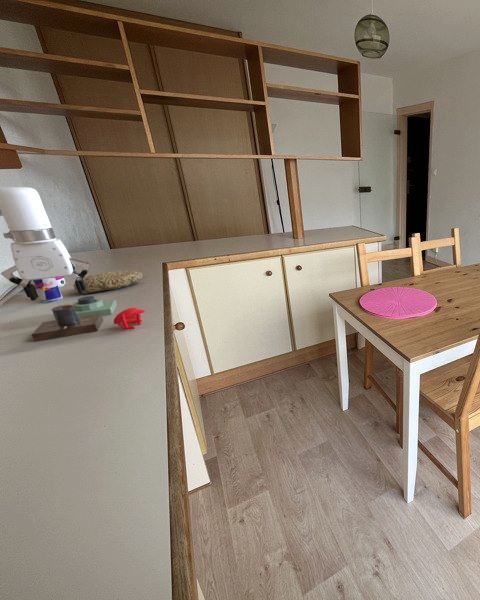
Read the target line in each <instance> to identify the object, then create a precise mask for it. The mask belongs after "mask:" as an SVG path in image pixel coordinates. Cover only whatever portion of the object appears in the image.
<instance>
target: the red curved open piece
mask: <svg viewBox="0 0 480 600" xmlns="http://www.w3.org/2000/svg"><path fill="white" fill-rule="evenodd" d="M145 313H146V310H145V309H140V308H137V307H129V308H127V309H124V310H122V311H121V312H118V313H117V315H116V316H115V317H114V318H113V325H118V327H119V328H120V329H121V330H126V331H127V330H135V329H136V327H135V326H134V325H136V324H137V325H142V323H143V320H142V315H141V314H145ZM129 325H131V326H129ZM132 325H133V326H132Z"/></svg>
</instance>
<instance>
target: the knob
mask: <svg viewBox="0 0 480 600" xmlns="http://www.w3.org/2000/svg"><path fill="white" fill-rule="evenodd" d="M51 312H52V314H53V316H54V319H55V320H56V321H57V324H58V326H68V325H72V324H75V323H77V322H79V319H78V317H77V314H76V312H75V309H74V306H73V304H63V305H58V306H55V307H54V306H53V308H51Z"/></svg>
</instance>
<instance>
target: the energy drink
mask: <svg viewBox="0 0 480 600" xmlns="http://www.w3.org/2000/svg"><path fill="white" fill-rule="evenodd" d="M32 282H33V285H34V287H35V289H36V291H37V293H38V296H39V298H40V301H41V302H42V303H44V304H49V303H50V304H53V303H56V302H60V301H62V300H63V299H64V297H63V294H62V292H61V289H60V287H58V284H57V282H56V279H55V278H47V279H38V280H32Z"/></svg>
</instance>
